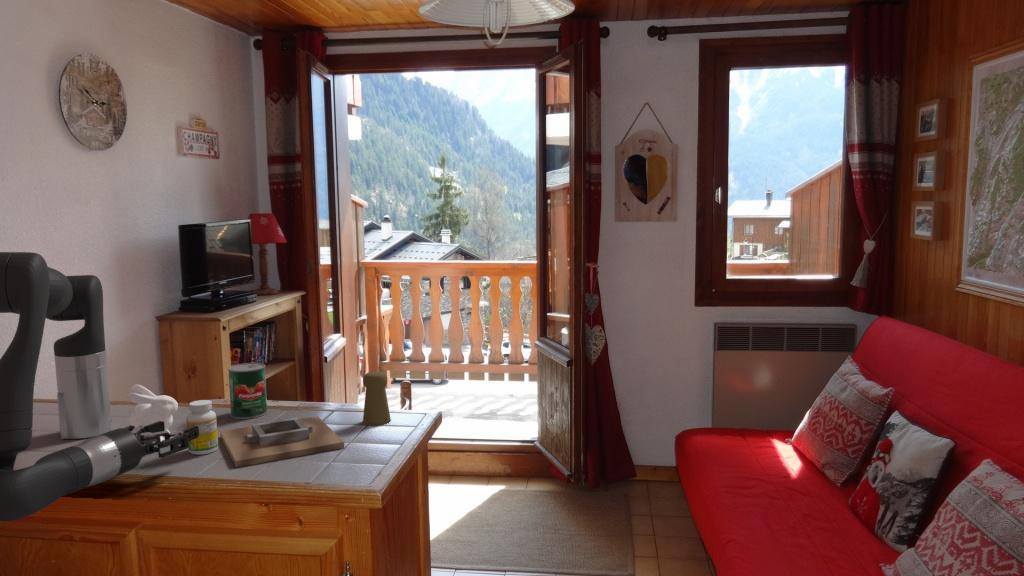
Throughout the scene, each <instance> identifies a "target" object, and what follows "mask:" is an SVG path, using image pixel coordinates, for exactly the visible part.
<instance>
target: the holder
mask: <svg viewBox="0 0 1024 576" xmlns="http://www.w3.org/2000/svg"><path fill="white" fill-rule="evenodd" d="M219 433H220V435H219V436H220V439H221V441H222V442H223V445H224V446H225V448H226V450H227V452H228V455H229V457H230V459H231V460H232V462H233V464H234V466H235V468H241V467H247V466H251V465H252V466H253V465H258V464H263V463H268V462H275V461H280V460H285V459H291V458H297V457H302V456H307V455H314V454H320V453H323V452H329V451H330V452H331V451H335V450H341V449H345V441H344V440H342V439H341V438H340V436H338V434H337V433H335V431H334V430H332V429H331V428H330V426H328V425H327V423H326V422H325V421H324V420H323V419H321V418H320V416H319V415H315V416H311V417H309V416H308V417H304V418H299V417H291V418H285V419H279V420H278V419H277V420H272V421H266V422H260V423H252V424H251V426H244V427H239V428H238V427H237V428H234V429H233V428H232V429H226V430H220V432H219Z"/></svg>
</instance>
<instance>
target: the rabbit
mask: <svg viewBox="0 0 1024 576" xmlns="http://www.w3.org/2000/svg"><path fill="white" fill-rule="evenodd" d="M130 389H131V391H132V392H129V393H128V394H127V398H128V400H129V401H130V402H132V403H134V404H137V405H136V406H134V408H133V410H132V411H131V414H130V418H129V425H128V426H131V425H132V426H135V428H137V427H138V426H141V425H142V426H147V425H150V424H152V423H155V422H158V421H163V422H164V426H165V431H168V432H169V433H171V432H170V430H169V429H170V428H171V427H172V425H173V421H174V417H173V415H172V414H173V413H176V412H177V411H178V407H179V404H178V402H177V400H176V399H175V398H173V397H171V396H169V395H164V394H163V395H156V394H154V393H153V392H152V391H150V390H149V388H146V387H145V386H144V385H142V384H134V385H132V386H131V388H130ZM171 438H173V437H171ZM162 440H165V439H164V436H160V441H161V442H162Z"/></svg>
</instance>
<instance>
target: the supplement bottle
mask: <svg viewBox="0 0 1024 576" xmlns="http://www.w3.org/2000/svg"><path fill="white" fill-rule="evenodd" d="M212 403H213V402H212V400H210V399H209V400H208V399H200V400H194V401H191V402H190V403H189V404H188V405H189V406H188V409H189V412H190V413H188V414H187V416H186V420H185V421H186V429H187V428H190V427H192V426H198V427H199V437H198V438H196V439H193V440H191V441H189V448H187V449H188V453H190V454H192V455H196V456H198V455H199V456H201V455H208V454H211V453H212V454H213V453H214V452H216V451H217V450H218V448H219V438H218V437H219V436H218V435H219V434H218V424H217V423H218V422H217V414H216V412H215V411H214V410H212V409H213V404H212Z"/></svg>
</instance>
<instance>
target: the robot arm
mask: <svg viewBox="0 0 1024 576" xmlns="http://www.w3.org/2000/svg"><path fill="white" fill-rule="evenodd" d="M11 313H12V314H16V315H19V317H18V323H17V327H16V330H15V333H14V336H13V338H12V340H11V342H10V344H9V345H8V347H7V348H6V350H5V351H4V353H3V354H2V356H1V357H0V522H13V521H18V520H21V519H24V518H26V517H30V516H31V515H34V514H36V513H38V512H39V511H42V510H43V509H45V508H46V507H48V506H50V505H51V504H53V503H55V502H56V501H57V500H59V499H60V498H62V497H65V496H68V495H71V494H73V493H75V492H78V491H81V490H83V489H85V488H88V487H91V486H95V485H98V484H99V485H100V484H101V483H104V482H107V481H109V480H112V479H113V478H116V477H119V476H121V475H123V474H126V473H129V472H130V471H133V470H135V469H136V468H137V467H138V466H139V464H140V463H141V460H142V459H143V457H145V458H146V457H150V456H153V455H155V454H158V458H166V457H168V456H171V455H173V454H176V453H179V452H181V451H184V450H186V449H188V448H189V441H191V440H193V439H196V438H198V437H199V427H198V426H192V427H190V428H187V427H186V428H185V429H182V430H178V431H173V432H170V433H169V432H168V431H165V426H164V422H163V421H158V422H155V423H152V424H150V425H147V426H142V425H141V426H138V427H137V428H135V426H132V425H131V426H129V425H128V426H126V427H120V428H117V429H113V423H112V422H113V421H112V413H111V410H112V409H111V401H110V400H111V397H110V388H109V387H110V386H109V385H110V384H109V375H108V365H107V364H108V362H107V351H106V340H105V339H106V337H105V325H104V324H105V322H104V291H103V285H102V282H101V279H99V277H98V276H96V275H95V274H94V275H93V274H82V275H80V274H79V275H65V274H64V273H62V272H61V271H59V270H58V269H55V268H52V267H49V266H48V264H47V261H46V260H45V258H44V257H43V256H42V255H41V254H40V253H36V252H30V251H28V252H27V251H26V252H25V251H20V252H19V251H1V252H0V314H11ZM46 319H47V320H49V321H54V322H65V321H66V322H67V321H68V322H69V321H83V320H84V324H83V326H82V328H80V329H79V330H77V331H76V332H73V333H71V334H68V335H66V336H64V337H61V338H58V339H57V340H55V341H54V342H53V355H54V366H55V367H54V368H55V376H56V387H57V393H56V400H57V410H58V419H59V420H58V421H59V422H58V423H59V432H60V439H61V440H67V439H68V440H69V439H73V440H76V439H77V440H79V439H84V440H81V441H80V442H77V443H75V444H73V445H70V446H69V447H65V448H62V449H58V450H56V451H54V452H52V453H47V454H46V455H44V456H42V457H40V458H39V459H38V460H37V461H36V462H35V463H34V464H32V465H30V466H27V467H23V468H19V469H15V470H14V468H15V465H16V460H17V457H18V454H20V453H21V452H23V451H24V452H25V450H27V449H29V447H30V445H31V443H32V440H33V439H32V438H33V421H34V420H33V418H34V417H33V416H34V412H33V411H34V394H35V393H34V391H35V382H36V381H35V380H36V375H37V374H36V373H37V371H38V369H37V368H38V364H39V359H40V353H41V347H42V344H43V343H42V342H43V335H44V331H45V323H46ZM112 429H113V430H112ZM160 436H164V439H165V440H162V442H161V441H160ZM171 437H173V438H171Z"/></svg>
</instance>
